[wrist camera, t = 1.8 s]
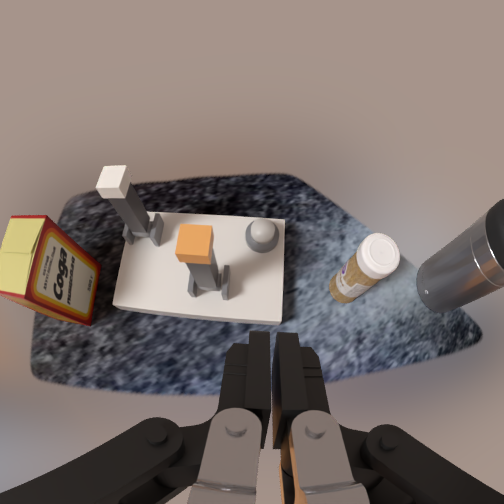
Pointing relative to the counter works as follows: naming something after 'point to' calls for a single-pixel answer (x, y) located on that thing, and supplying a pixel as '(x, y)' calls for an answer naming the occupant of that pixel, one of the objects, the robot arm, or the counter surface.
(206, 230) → the lever orange
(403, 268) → the counter surface
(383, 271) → the sprinkles bottle
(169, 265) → the switch panel
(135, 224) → the lever white
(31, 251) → the baking soda box
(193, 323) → the counter surface
